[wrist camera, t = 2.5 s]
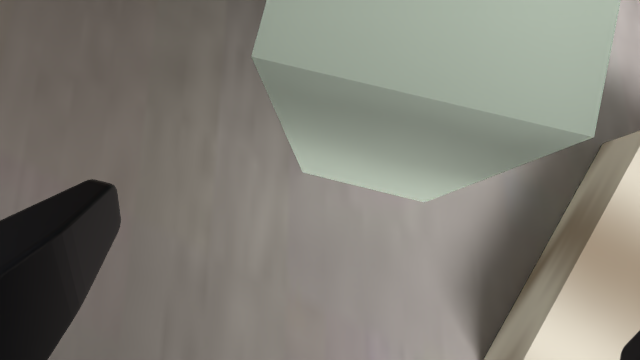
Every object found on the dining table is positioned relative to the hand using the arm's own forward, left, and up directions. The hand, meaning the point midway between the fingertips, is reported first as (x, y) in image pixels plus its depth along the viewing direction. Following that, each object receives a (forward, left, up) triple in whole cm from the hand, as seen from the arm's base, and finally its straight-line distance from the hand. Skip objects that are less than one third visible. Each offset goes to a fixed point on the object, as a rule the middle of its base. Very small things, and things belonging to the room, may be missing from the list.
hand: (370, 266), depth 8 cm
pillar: (+5, +1, -11) cm, 13 cm away
